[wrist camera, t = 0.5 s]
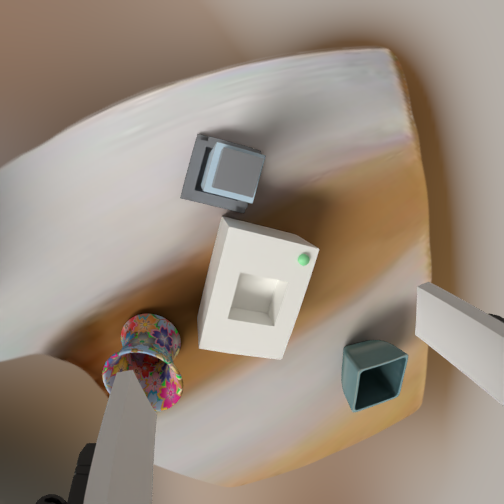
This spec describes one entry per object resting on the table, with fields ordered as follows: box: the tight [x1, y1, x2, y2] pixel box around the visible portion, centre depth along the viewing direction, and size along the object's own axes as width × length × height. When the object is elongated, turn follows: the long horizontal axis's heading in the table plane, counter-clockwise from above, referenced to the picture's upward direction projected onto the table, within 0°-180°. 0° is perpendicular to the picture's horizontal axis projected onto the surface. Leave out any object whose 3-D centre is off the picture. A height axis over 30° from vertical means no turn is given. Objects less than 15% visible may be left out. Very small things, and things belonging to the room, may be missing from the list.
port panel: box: [197, 216, 319, 360], centre depth 36 cm, size 10×14×8 cm
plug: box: [201, 142, 266, 204], centre depth 28 cm, size 4×4×15 cm
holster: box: [180, 134, 261, 213], centre depth 35 cm, size 8×8×2 cm
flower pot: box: [342, 340, 408, 412], centre depth 43 cm, size 9×9×9 cm
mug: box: [103, 314, 183, 412], centre depth 35 cm, size 12×9×11 cm
